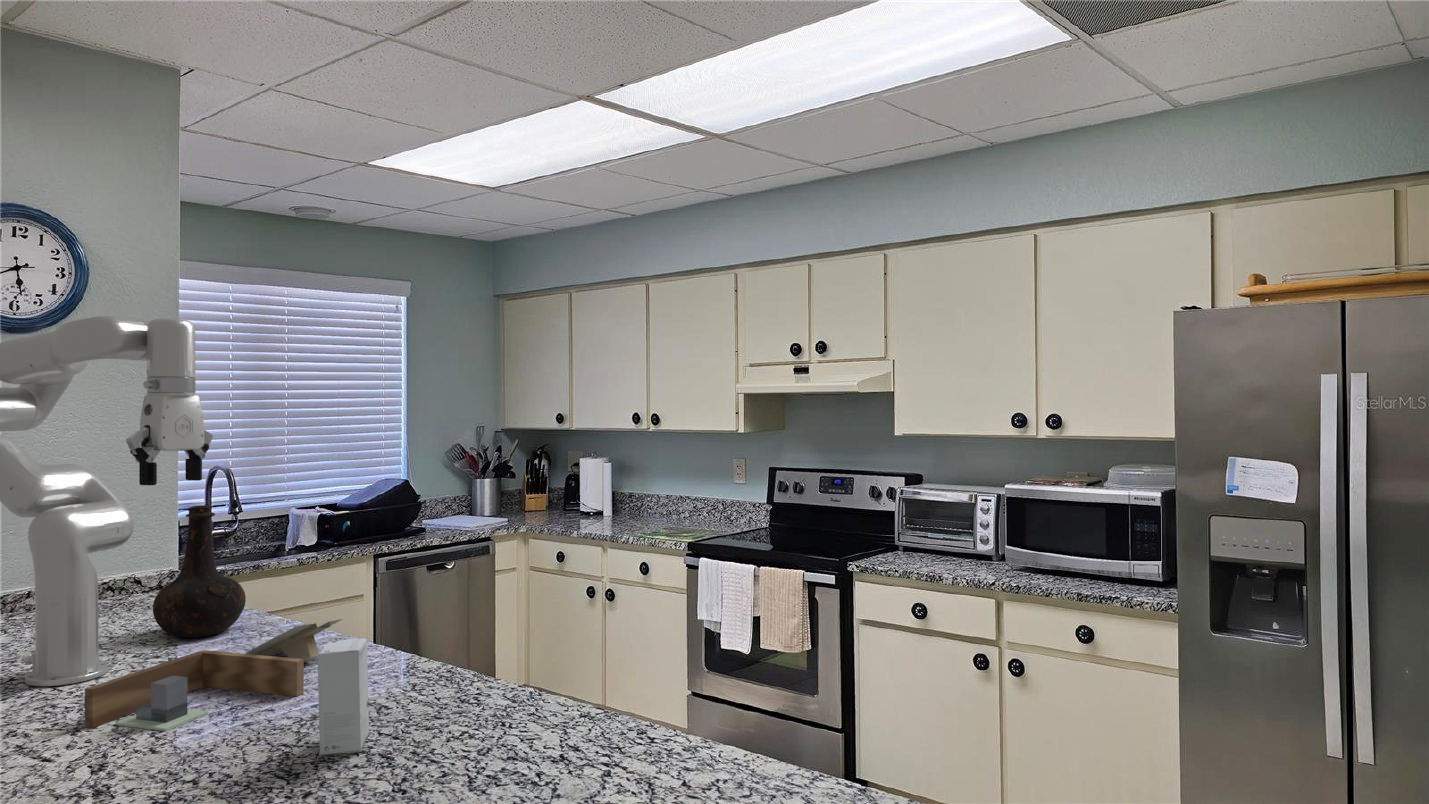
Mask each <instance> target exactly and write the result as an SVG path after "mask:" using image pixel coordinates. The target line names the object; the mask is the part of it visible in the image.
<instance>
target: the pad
mask: <svg viewBox="0 0 1429 804" xmlns="http://www.w3.org/2000/svg"><path fill="white" fill-rule="evenodd" d="M208 714H209V711H207V710H198V709H190V708H189V709H188V708H187V715H184V716H182V717H179V718H177V719H175V720H172V721H170V722H167V723H164V722H156V721H147V720H139V719H136V714H133V715H132V716H128V717H126V718H123V719H120V720H118V721H115V725H116V726H121V727H123V726H124V727H130V728H138V729H144V730H145V729H146V730H155V731H163V732H167V731H170V730H172V729H174V728H177V727H180V726H182V725H185V724H187V723H189V722H192V721H193V720H197V719H198V718H202V717H203V716H206V715H208Z"/></svg>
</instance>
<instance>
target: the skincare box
mask: <svg viewBox="0 0 1429 804" xmlns="http://www.w3.org/2000/svg"><path fill="white" fill-rule="evenodd" d="M368 670H369V669H368V638H366V637H365V638H354V639H340V640H330V641H328V642H327V644H326V645H324V646H322V649H321V650H320V652H319V654H318V657H317V681H318V682H317V684H318V686H317V687H318V725H319V727H318V730H319V732H318V734H319V735H318V736H319V740H318V741H319V755H321V756H322V755H330V754H331V755H332V754H352V753H360V752H362V748H363V746H364V743H365V741H366V739H367V737H368V735H369V733H370V710H369V677H368V676H369V671H368Z"/></svg>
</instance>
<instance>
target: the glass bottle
mask: <svg viewBox="0 0 1429 804" xmlns="http://www.w3.org/2000/svg"><path fill="white" fill-rule="evenodd" d="M212 509H213V506H212V505H208V504H207V505H205V504H203V505H200V504H199V505H193V506H190V507H188V514H185V517H186V518H188V527H187V539H186V545H185V552H184V553H185V554H184V559H183V564H182V566H181V567H182V568H181V570H180V573H179V575H178V576H177V577H176V578H175V579H174V580H173V581H171V582H170V583H168V584H166V585H165V586H164V587H163V588H161V589H160V590H159V592H158V593H157V594H156V596H155V598H154V600H153V604H152V614H153V618H154V620H155V622H156V624H157V625H158V626H159V628H160V629H161V630H162V631H164V632H165V633H166V634H168V635H170V636H173V637H176V638H181V639H194V638H202V637H208V636H215V635H216V634H220V633H223V632H225V631H226V630H228V629H229V628H231V627H232V626H233V625H234V624H235V623H236V622H237V621H238V619H239V618H240V617H241V615H242V613H243V611H244V609H245V606H246V592H245V590H244V588H243V586H242V585H241V584H240V583H239V582H238V581H237V580H235V579H233V578H231V577H228V576H224V575H221V573H219V571H218V569H217V566H216V562H215V561H216V560H215V556H214V555H215V553H214V547H213V545H214V544H213V531H212V518H213V517H215V516H216V513H215V512H212Z"/></svg>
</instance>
